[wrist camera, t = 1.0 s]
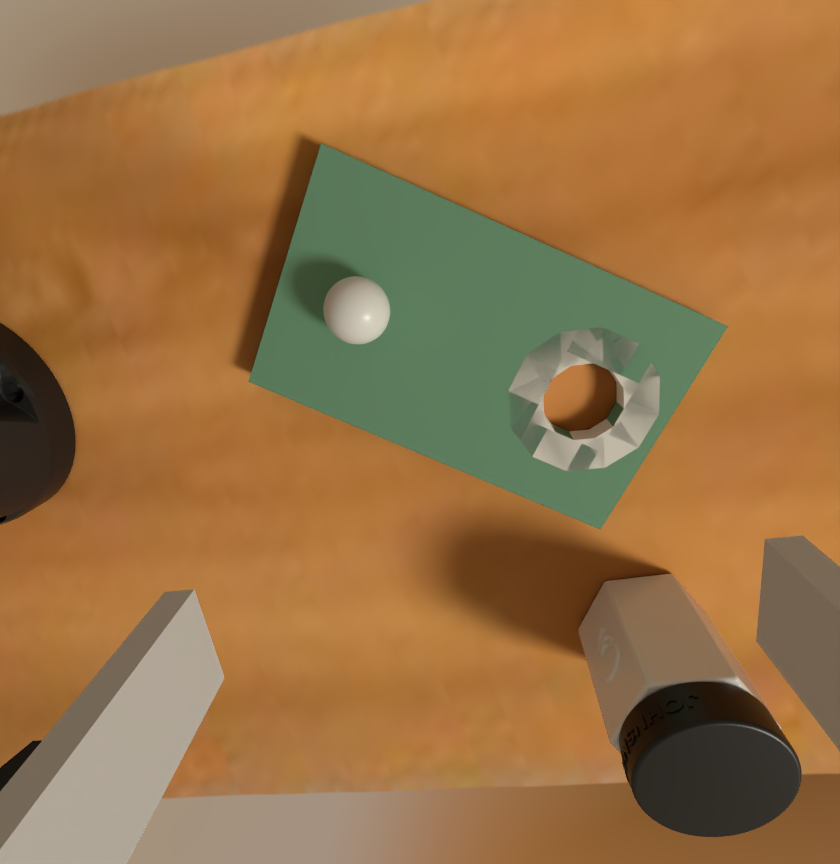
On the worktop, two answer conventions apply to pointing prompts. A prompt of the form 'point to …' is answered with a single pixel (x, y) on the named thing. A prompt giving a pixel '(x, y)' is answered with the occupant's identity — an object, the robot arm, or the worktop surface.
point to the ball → (356, 310)
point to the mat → (474, 340)
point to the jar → (684, 712)
